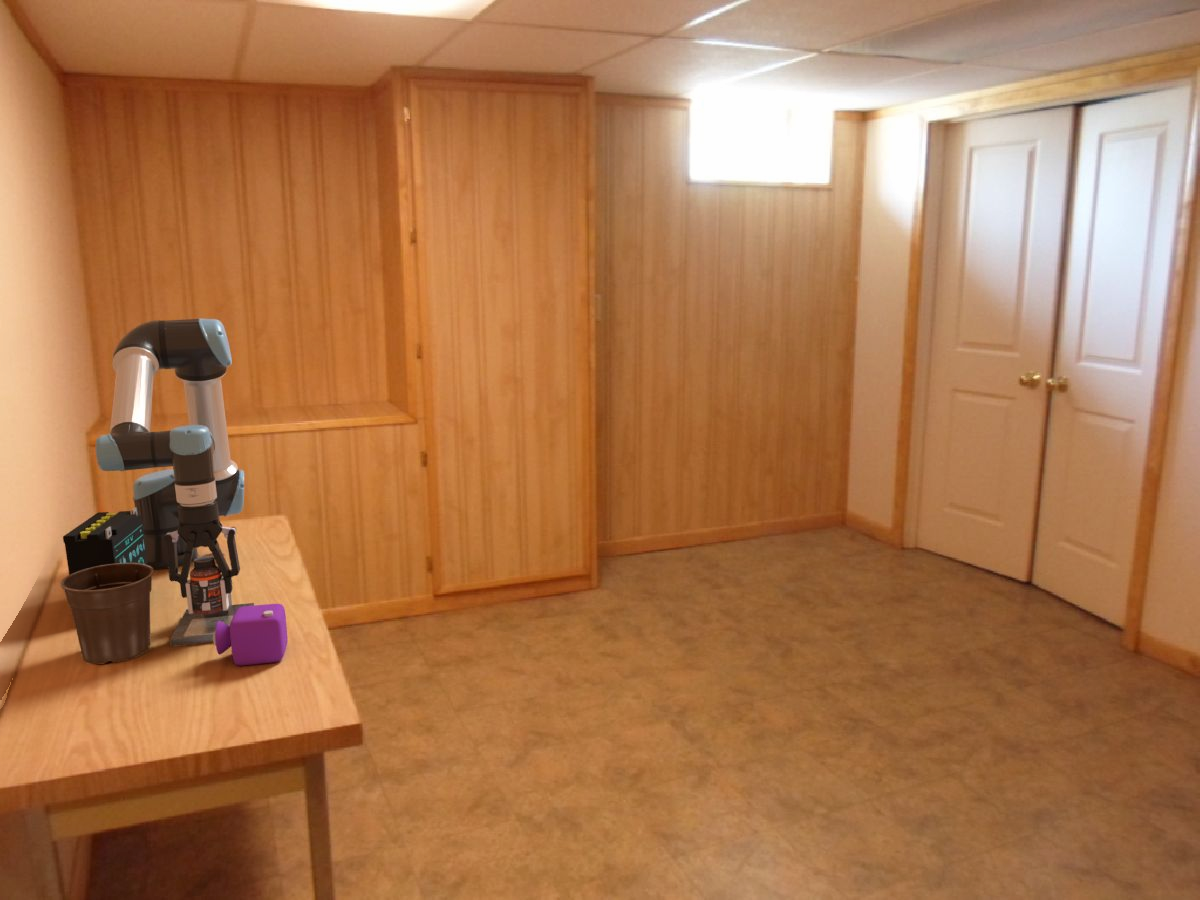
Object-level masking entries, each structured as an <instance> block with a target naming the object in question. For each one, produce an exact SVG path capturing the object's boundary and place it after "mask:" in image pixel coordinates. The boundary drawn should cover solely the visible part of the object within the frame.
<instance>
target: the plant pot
mask: <svg viewBox="0 0 1200 900" xmlns="http://www.w3.org/2000/svg"><path fill="white" fill-rule="evenodd" d="M154 570H155V569H153V568H152V567H151V566H149V565H146V564H141V563H116V564H107V565H100V566H95V567H91V568H87V569H84V570H81V571H78V572H75V573H73V574H70V575H69V574H68V575H67V576H66V577H64V578H63V579H62V580H60V587H61V589H63V590H64V593H65V597H66V598H65V599H66V601H67V603H68V605H70V610H71V613H72V618H73V621H74V626H75V630H76V635H77V638H78V644H79V647H80V652H81V656H82V659H83V660H84V661H86V662H87V663H91V664H97V665H105V664H106V663H108V662H114V663H120V662H125V661H127V660H131V659H135V658H136V657H139V656H141V655H142V654H144V653H146V652H147V651H149V649H150V646H151V592H152V585H153V584H152V582H153V581H152V578H153V577H152V576H153V575H154V573H155V572H154Z"/></svg>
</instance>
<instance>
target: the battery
mask: <svg viewBox="0 0 1200 900" xmlns="http://www.w3.org/2000/svg"><path fill="white" fill-rule="evenodd" d="M62 540H63V541H62V542H63V544H64V549H65V554H66V563H67V568H68V569H67V571H68V576H69V575H70V574H73V573H75V572H78V571H81V570H84V569H87V568H91V567H95V566H100V565H107V564H116V563H141V564H146V565H147V557H146V549H145V541H144V533H143V525H142V515H137V508H136V507H135V506H134V508H132V509H131V510H123V511H122V510H120V511H118V512H117V513H115V512H108V511H103V512H101V511H100V512H99V511H98V512H97V513H95V514H94V515H92V516H91V517H89V518H87V519H86V520H85V521H84V522H81V524H79V525H77V526H76V527H75V528H73V529H72V530H70V531H69V532H67V533H66V534H64V535H63V536H62Z"/></svg>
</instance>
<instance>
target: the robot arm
mask: <svg viewBox="0 0 1200 900" xmlns="http://www.w3.org/2000/svg"><path fill="white" fill-rule="evenodd" d="M112 354H113V356H112V363H111V364H112V368H113V370H114V372H115V383H114V389H113V390H114V391H113V392H114V393H113V401H112V402H113V403H112V408H111V409H112V411H111V420H110V427H109V433H107V434H103V435H99V436H98V437H97V438H96V440H95V456H96V457H95V458H96V462H97V465H98V467H99V469H100V470H102V471H103V472H115V471H116V472H117V471H118V472H124V471H125V472H126V471H133V470H142V469H143V470H144V469H155V468H168V467H169V468H170V467H172V468H173V469H172V468H171V469H164V470H158V471H154V472H151V473H148V474H145V475H142V476H141V477H138V478H136V480H134V482H133V484H132V491H133V497H132V500H133V502H134V508H135V507H136V508H137V515H142V525H143V533H144V541H145V549H146V557H147V565H149V566H151V567H152V568H153V569H154V570H162V568H164V569H168V577H169V581H170V582H177V583H179V586H180V596H181V597H182V598H183V599H184V598H186V599H187V607H188V608H187V609H188V610H189V614H193V612H194V608H193V599H192V591H191V581H190V579H188V578H189V575H190V571H191V570H190V569H191V565H192V562H194V559H196V558H198V557H199V552H198V548H200V547H201V548H202V547H203V548H208V549H209V552H211V554H213V556H214V559H215V561H216V563H217V565H218V567H219V569H220V571H221V574H222V576H223V577H222V578H221V580H220V586H221V595H222V604H223V611H224V610H227V609H228V607H229V600H228V594H229V593H231V594H232V592H233V588H234V587H233V580H232V578H233V577H235V576H238V575H239V573H240V572H241V566H240V561H239V554H238V549H237V543H236V534H237V528H236V527H235V526H231V527H226V526H223V524H222V523H221V521H220V517H227V516H232V515H238V514H240V513H242V511H243V509H244V504H245V503H244V501H245V471H244V470H242V469H239V467H238V464H237V463H236V462H235V461H234V460H232V458H231V452H230V451H231V450H230V442H229V435H228V434H229V433H228V428H227V427H228V426H227V419H226V417H227V416H226V410H225V402H224V393H223V385H222V378H223V377H224V376H225V375H226V374H227V373H228V372H227V368H229V367H230V366H232V365H233V359H232V353H231V349H230V343H229V340H228V335H227V333H226V329H225V326H224V324H223V323H222V322H221V320H218V319H217V318H201V317H200V318H191V319H190V318H188V319H184V318H183V319H163V320H160V319H159V320H157V319H156V320H149V321H146V322H144V323H143V322H142V323H141V324H138V325H137V326H136V327H134V328H132V329H130V330H129V331H128V332H127V333H126V334H125V335H124V336H123V337H122V338H121V340H120V341H119V342H118V344H117V345H116V347H115V350H114V352H113V353H112ZM160 370H174V373H175V377H176V378H177V379H178V380H180V381H182V382H183V388H184V394H185V395H184V396H185V403H186V411H187V416H188V417H187V419H188V424H189V425H183V426H182V425H181V426H177V427H173V428H172V429H171V430H161V431H160V430H159V431H151V421H152V409H153V408H152V405H153V390H154V387H153V386H154V377H155V376H156V375H157V374H158V372H159V371H160ZM221 533H222V534H223V537H224V538H225V539H226V545H227V550H228V551H227V552H228V556H229V562H230V567H229V565H228V562H227V559H226V560H225V558H224V556H223V554H224V553H223V551H222V549H221V547H220V544H219V541H218V540H217V539H218V538H219V536H220V535H221ZM222 553H223V554H222ZM197 556H198V557H197ZM182 564H183V565H182ZM178 565H180V566H182V567H181V570H180V571H181V572H180V573H179V566H178ZM168 567H169V568H168ZM230 568H231V569H230Z"/></svg>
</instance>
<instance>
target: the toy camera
mask: <svg viewBox="0 0 1200 900" xmlns="http://www.w3.org/2000/svg"><path fill="white" fill-rule="evenodd" d="M288 637H289V636H288V627H287V617H286V610H285V607H284V605H283V604H281V603H268V604H267V603H265V604H257V605H255V604H254V606H244V607H240V608H238V609H237V610H236V612H235V614H234V616H233V618H232V620H231V623H230V626H228V625H226V624H225V623H223V622H221V621H218V622H217V625H216V630H215V632H214V634H213V642H212V643H213V644H214V646H215V647H216V653H217V654H218V655H222V654H224V653H225V652H227V651H228V650H229V649H231V655H232V660H233V662H234V664H235V665H237V666H249V665H250V666H251V665H261V664H268V663H269V664H270V663H277V662H280V661H281V660H283V658H284V657H285V653H286V649H287V646H288V641H289V640H288Z"/></svg>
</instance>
